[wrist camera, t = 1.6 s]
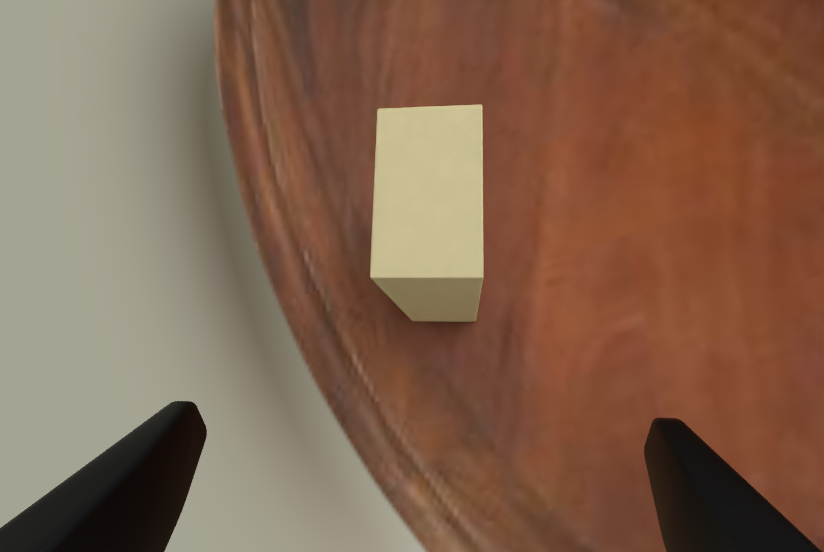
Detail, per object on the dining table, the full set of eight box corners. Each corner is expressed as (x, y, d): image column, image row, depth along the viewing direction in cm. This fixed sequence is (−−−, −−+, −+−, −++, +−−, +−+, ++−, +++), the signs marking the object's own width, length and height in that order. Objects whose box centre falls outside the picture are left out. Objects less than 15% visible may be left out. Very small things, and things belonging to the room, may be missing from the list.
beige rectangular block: (476, 321, 22) (483, 277, 12) (412, 321, 22) (369, 277, 12) (475, 219, 23) (482, 103, 13) (414, 220, 23) (376, 108, 14)
